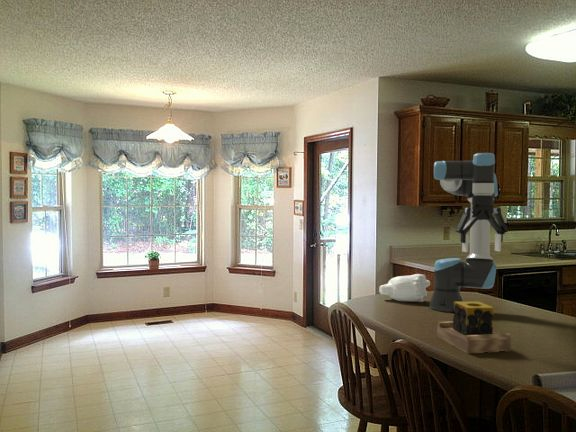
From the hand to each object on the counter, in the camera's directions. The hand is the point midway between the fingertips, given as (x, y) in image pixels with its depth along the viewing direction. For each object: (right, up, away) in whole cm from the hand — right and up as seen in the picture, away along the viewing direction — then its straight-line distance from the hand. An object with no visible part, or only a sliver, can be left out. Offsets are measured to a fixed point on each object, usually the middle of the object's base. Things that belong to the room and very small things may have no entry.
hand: (481, 251), depth 185 cm
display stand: (-8, -32, -11) cm, 34 cm away
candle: (-8, -28, -12) cm, 31 cm away
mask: (-15, -29, +62) cm, 70 cm away
